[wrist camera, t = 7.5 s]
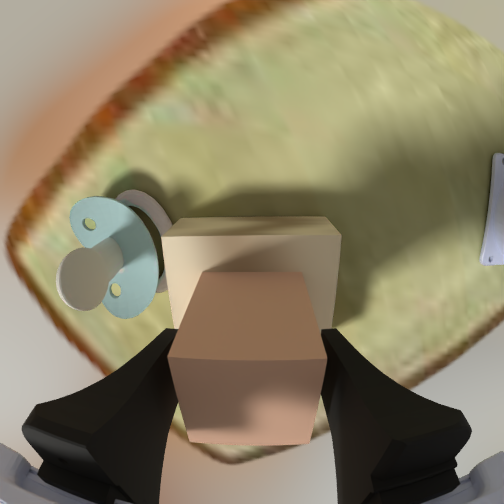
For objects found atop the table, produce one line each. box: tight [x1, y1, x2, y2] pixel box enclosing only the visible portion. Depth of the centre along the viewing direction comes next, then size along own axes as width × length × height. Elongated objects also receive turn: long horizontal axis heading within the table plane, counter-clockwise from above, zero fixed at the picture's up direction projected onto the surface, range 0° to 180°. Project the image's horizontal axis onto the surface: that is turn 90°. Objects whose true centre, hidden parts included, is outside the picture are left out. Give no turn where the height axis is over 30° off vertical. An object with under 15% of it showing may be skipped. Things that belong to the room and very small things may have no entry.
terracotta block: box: [167, 272, 327, 445], centre depth 11 cm, size 4×4×6 cm
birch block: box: [161, 216, 342, 334], centre depth 16 cm, size 8×8×4 cm
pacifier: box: [56, 189, 173, 319], centre depth 14 cm, size 7×6×6 cm
